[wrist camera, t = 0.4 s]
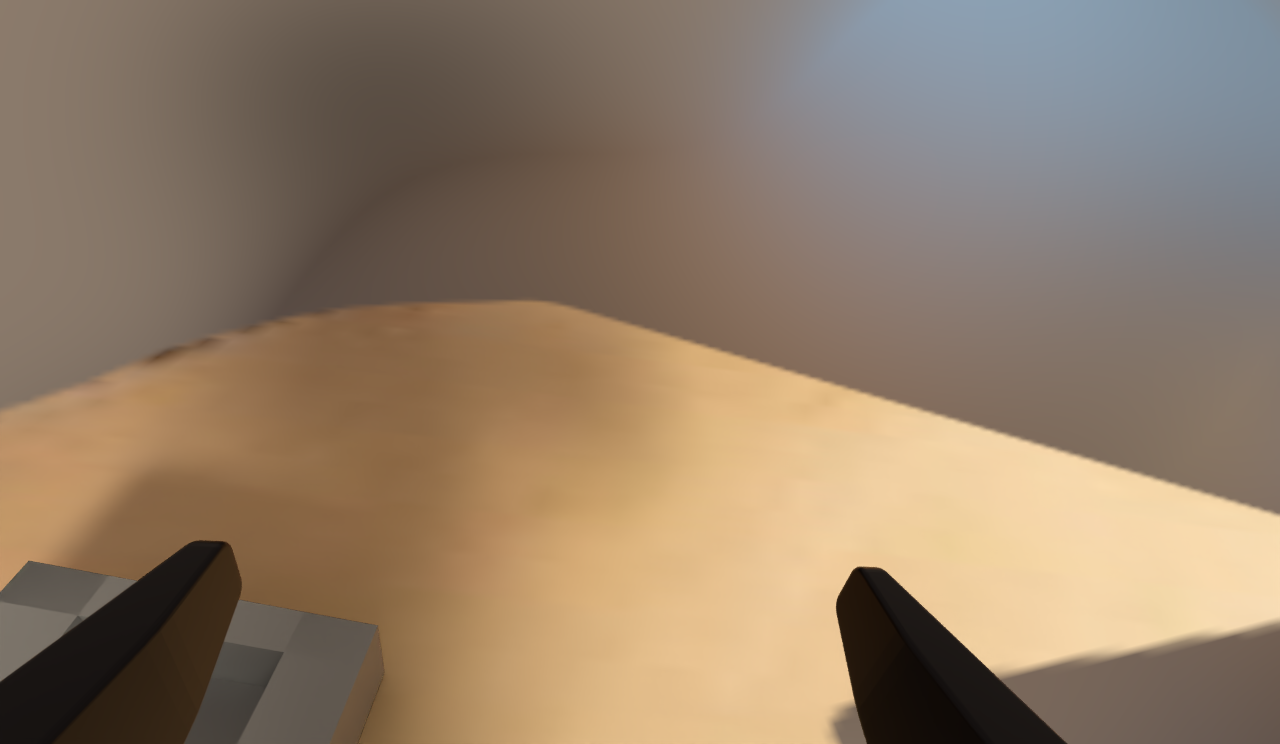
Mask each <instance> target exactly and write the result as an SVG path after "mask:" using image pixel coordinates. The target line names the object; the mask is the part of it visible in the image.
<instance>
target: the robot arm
mask: <svg viewBox="0 0 1280 744" xmlns="http://www.w3.org/2000/svg"><path fill="white" fill-rule="evenodd" d="M241 588H242V581H241V576H240V573H239V570H238V566H237V563H236V560H235V557H234V553H233V550H232V548H231V545H229V544H228V543H227V542H224V541H202V540H200V541H194V542H191V543H189V544H187V545H186V546H184V547H183V548H182V549H180V550H179V551H177V552H176V553H175V554H173V555H172V556H171V557H169V558H168V559H167V560H165V561H164V562H162V563H161V564H160V565H158V566H157V567H156V568H154V569H153V570H152V571H150V572H149V573H147V574H146V575H145V576H143V577H142V578H141V579H139V580H138V581H137V582H135V583H134V584H132V585H131V586H130V587H128V588H127V589H126V590H124V591H123V592H122V593H120V594H119V595H117V596H116V597H115V598H113V599H112V600H111V601H109V602H108V603H107V604H105V605H104V606H102V607H101V608H100V609H98V610H97V611H96V612H94V613H93V614H92V615H90V616H89V617H87V618H86V619H85V620H83V621H82V622H81V623H79V624H78V625H77V626H75V627H74V628H72V629H71V630H70V631H68V632H67V633H66V634H64V635H63V636H62V637H60V638H59V639H57V640H56V641H55V642H53V643H52V644H51V645H49V646H48V647H47V648H45V649H44V650H42V651H41V652H40V653H38V654H37V655H36V656H34V657H33V658H32V659H30V660H29V661H27V662H26V663H25V664H23V665H22V666H21V667H19V668H18V669H17V670H15V671H14V672H12V673H11V674H10V675H8V676H7V677H6V678H4V679H3V680H2V681H0V744H184V743H185V740H186V738H187V736H188V734H189V732H190V730H191V728H192V725H193V723H194V721H195V719H196V716H197V714H198V712H199V709H200V707H201V704H202V701H203V699H204V696H205V693H206V691H207V688H208V685H209V682H210V679H211V677H212V674H213V671H214V668H215V665H216V663H217V660H218V657H219V654H220V651H221V648H222V646H223V643H224V640H225V637H226V634H227V632H228V629H229V626H230V623H231V620H232V618H233V615H234V612H235V609H236V606H237V603H238V601H239V598H240V594H241ZM836 613H837V618H838V623H839V628H840V633H841V638H842V642H843V647H844V652H845V657H846V662H847V667H848V672H849V676H850V681H851V686H852V691H853V696H854V700H855V704H856V708H857V712H858V716H859V719H860V722H861V726H862V729H863V733H864V736H865V738H866V742H867V744H1067V743H1066V742H1065V741H1064V740H1063V739H1062V738H1061V737H1060V736H1059V735H1058V734H1057V733H1056V732H1055V731H1054V730H1052V729H1051V728H1050V727H1049V726H1048V725H1047V724H1046V723H1045V722H1044V721H1043V720H1042V719H1041V718H1040V717H1039V716H1038V715H1037V714H1035V712H1033V711H1032V710H1031V709H1030V708H1029V707H1028V706H1027V705H1026V704H1025V703H1024V702H1023V701H1022V700H1021V699H1020V698H1019V697H1018V696H1017V695H1016V694H1015V693H1014V692H1012V691H1011V690H1010V689H1009V688H1008V687H1007V686H1006V685H1005V684H1004V683H1003V682H1002V681H1001V680H1000V679H999V678H998V677H997V676H996V675H995V674H994V673H992V672H991V671H990V670H989V669H988V668H987V667H986V666H985V665H984V664H983V663H982V662H981V661H980V660H979V659H978V658H977V657H976V656H975V655H974V654H972V653H971V652H970V651H969V650H968V649H967V648H966V647H965V646H964V645H963V644H962V643H961V642H960V641H959V640H958V639H957V638H956V637H955V636H954V635H952V634H951V633H950V632H949V631H948V630H947V629H946V628H945V627H944V626H943V625H942V624H941V623H940V622H939V621H938V620H937V619H936V618H935V617H934V616H932V615H931V614H930V613H929V612H928V611H927V610H926V609H925V608H924V607H923V606H922V605H921V604H920V603H919V602H918V601H917V600H916V599H915V598H914V597H912V596H911V595H910V594H909V593H908V592H907V591H906V590H905V589H904V588H903V587H902V586H901V585H900V584H899V583H898V582H897V581H896V580H895V579H894V578H892V577H891V576H890V575H889V574H888V573H887V572H886V571H885V570H883V569H881V568H877V567H857V568H855V569H854V570H853V571H852V572H851V574H850V576H849V578H848V579H847V581H846V583H845V585H844V587H843V588H842V590H841V592H840V594H839V596H838V598H837V602H836Z"/></svg>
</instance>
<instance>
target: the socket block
mask: <svg viewBox="0 0 1280 744" xmlns="http://www.w3.org/2000/svg"><path fill="white" fill-rule="evenodd" d="M135 582H137V581H135V580H130V579H125V578H119V577H114V576H109V575H103V574H98V573H92V572H87V571H82V570H76V569H71V568H65V567H60V566H55V565H49V564H44V563H39V562H33V561H28V562H27V563H26V564H25V566H24V567H23V568H22V569H21V570H20V571H19V572H18V573H17V574H16V575H15V577H14V578H13V579H12V580H11V581H10V582H9V583H8V584H7V585H6V586H5V588H4V589H3V590H2V591H1V592H0V681H2V680H3V679H4V678H6V677H7V676H8V675H10V674H11V673H12V672H14V671H15V670H17V669H18V668H19V667H21V666H22V665H23V664H25V663H26V662H27V661H29V660H30V659H32V658H33V657H34V656H36V655H37V654H38V653H40V652H41V651H42V650H44V649H45V648H47V647H48V646H49V645H51V644H52V643H53V642H55V641H56V640H57V639H59V638H60V637H62V636H63V635H64V634H66V633H67V632H68V631H70V630H71V629H72V628H74V627H75V626H77V625H78V624H79V623H81V622H82V621H83V620H85V619H86V618H87V617H89V616H90V615H92V614H93V613H94V612H96V611H97V610H98V609H100V608H101V607H102V606H104V605H105V604H107V603H108V602H109V601H111V600H112V599H113V598H115V597H116V596H117V595H119V594H120V593H122V592H123V591H124V590H126V589H127V588H128V587H130V586H131V585H132V584H134V583H135ZM383 675H384V666H383V659H382V651H381V644H380V637H379V630H378V625H372V624H367V623H361V622H356V621H351V620H345V619H340V618H335V617H329V616H324V615H318V614H313V613H308V612H302V611H297V610H291V609H286V608H281V607H275V606H270V605H265V604H259V603H254V602H248V601H243V600H239V601H238V603H237V606H236V609H235V612H234V615H233V618H232V620H231V623H230V626H229V629H228V632H227V634H226V637H225V640H224V643H223V646H222V648H221V651H220V654H219V657H218V660H217V663H216V665H215V668H214V671H213V674H212V677H211V679H210V682H209V685H208V688H207V691H206V693H205V696H204V699H203V701H202V704H201V707H200V709H199V712H198V714H197V716H196V719H195V721H194V723H193V725H192V728H191V730H190V732H189V734H188V736H187V738H186V740H185V743H184V744H358V741H359V738H360V736H361V733H362V730H363V728H364V725H365V723H366V720H367V717H368V715H369V712H370V709H371V707H372V704H373V701H374V699H375V696H376V694H377V691H378V688H379V686H380V683H381V680H382V678H383Z"/></svg>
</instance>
